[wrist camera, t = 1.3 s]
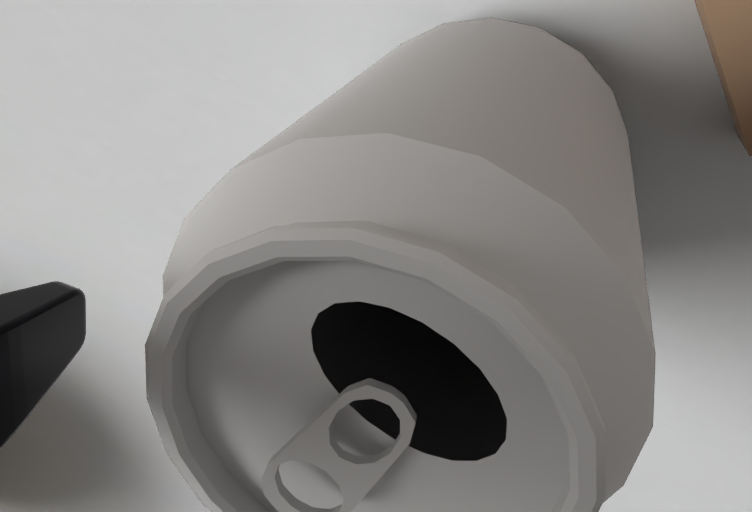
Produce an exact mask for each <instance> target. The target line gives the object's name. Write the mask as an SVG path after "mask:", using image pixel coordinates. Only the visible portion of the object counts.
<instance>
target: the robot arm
mask: <svg viewBox="0 0 752 512" xmlns="http://www.w3.org/2000/svg"><path fill="white" fill-rule="evenodd" d="M85 335H86V300H85V295H84V293H83V291H81V290H80V289H78V288H75V287H73V286H70V285H68V284H65V283H62V282H50V283H46V284H42V285H37V286H33V287H29V288H25V289H21V290H17V291H13V292H9V293H5V294H0V448H1V447H2V446H3V445H4V443H5V442H6V441H7V440H8V439H9V438H10V437H11V436H12V435H13V434H14V432H15V431H16V430H17V429H18V428H19V427H20V425H21V424H22V423H23V422H24V421H25V419H26V418H27V417H28V416H29V414H30V413H31V412H32V411H33V409H34V408H35V407H36V405H37V404H38V403H39V401H40V400H41V399H42V398H43V396H44V395H45V394H46V392H47V391H48V390H49V389H50V387H51V386H52V385H53V383H54V382H55V381H56V380H57V378H58V377H59V376H60V374H61V373H62V372H63V371H64V369H65V368H66V367H67V365H68V364H69V363H70V362H71V360H72V359H73V358H74V356H75V355H76V354H77V353H78V351H79V350H80V348H81V346H82V345H83V342H84V340H85Z"/></svg>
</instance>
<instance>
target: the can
mask: <svg viewBox="0 0 752 512" xmlns="http://www.w3.org/2000/svg"><path fill="white" fill-rule="evenodd" d="M145 356H146V389H147V400H148V403H149V406H150V409H151V411H152V414H153V417H154V419H155V422H156V425H157V428H158V430H159V433H160V436H161V438H162V441H163V444H164V446H165V449H166V452H167V454H168V456H169V457H170V459H171V460H172V462H173V463H174V464H175V466H176V467H177V469H178V470H179V472H180V473H181V474H182V476H183V477H184V479H185V480H186V482H187V483H188V484H189V486H190V487H191V489H192V490H193V492H194V493H195V494H196V496H197V497H198V499H199V500H200V501H201V503H202V504H203V505H204V506H205V507H207V508H208V509H209V510H210V511H211V512H598V511H599V509H600V507H601V505H602V503H603V502H605V501H606V500H607V499H608V498H609V497H610V496H612V495H613V494H614V493H615V492H616V491H617V490H619V489H620V488H621V487H622V486H623V485H624V483H625V481H626V479H627V477H628V475H629V473H630V471H631V469H632V467H633V465H634V463H635V461H636V459H637V457H638V455H639V453H640V451H641V449H642V447H643V445H644V443H645V441H646V439H647V437H648V435H649V433H650V431H651V429H652V427H653V410H654V382H655V347H654V339H653V331H652V323H651V315H650V307H649V299H648V291H647V283H646V275H645V267H644V259H643V251H642V243H641V235H640V227H639V219H638V211H637V203H636V195H635V187H634V179H633V171H632V163H631V155H630V147H629V139H628V133H627V131H626V128H625V125H624V122H623V119H622V116H621V114H620V111H619V108H618V105H617V102H616V99H615V97H614V94H613V91H612V89H611V88H610V87H609V86H608V85H607V83H606V82H605V81H604V80H603V79H602V77H601V76H600V75H599V74H598V72H597V71H596V70H595V69H594V68H593V66H592V65H591V64H590V63H589V61H588V60H587V59H586V58H585V57H584V55H583V54H582V53H580V52H579V51H577V50H576V49H574V48H572V47H571V46H569V45H567V44H566V43H564V42H562V41H561V40H559V39H557V38H556V37H554V36H552V35H551V34H549V33H547V32H546V31H544V30H542V29H541V28H538V27H533V26H529V25H524V24H519V23H515V22H510V21H505V20H501V19H496V18H484V19H475V20H467V21H459V22H450V23H444V24H441V25H439V26H437V27H435V28H433V29H431V30H429V31H427V32H425V33H423V34H421V35H419V36H416V37H414V38H412V39H410V40H408V41H406V42H404V43H402V44H401V45H399V46H398V47H397V48H395V49H394V50H393V51H391V52H390V53H389V54H387V55H386V56H385V57H383V58H382V59H380V60H379V61H378V62H376V63H375V64H374V65H372V66H371V67H370V68H368V69H367V70H365V71H364V72H363V73H361V74H360V75H359V76H357V77H356V78H355V79H353V80H352V81H351V82H349V83H348V84H346V85H345V86H344V87H342V88H341V89H340V90H338V91H337V92H336V93H334V94H333V95H332V96H330V97H329V98H327V99H326V100H325V101H323V102H322V103H321V104H319V105H318V106H317V107H315V108H314V109H312V110H311V111H310V112H308V113H307V114H306V115H304V116H303V117H302V118H300V119H299V120H298V121H296V122H295V123H293V124H292V125H291V126H289V127H288V128H287V129H285V130H284V131H283V132H281V133H280V134H279V135H277V136H276V137H274V138H273V139H272V140H270V141H269V142H268V143H266V144H265V145H264V146H262V147H261V148H259V149H258V150H257V151H255V152H254V153H253V154H251V155H250V156H249V157H247V158H246V159H245V160H243V161H242V162H240V163H239V164H238V165H236V166H235V167H234V168H232V169H231V170H230V171H229V172H228V173H227V174H226V175H225V176H224V177H223V178H222V179H221V180H220V181H219V182H218V183H217V185H216V186H215V187H214V188H213V189H212V190H211V191H210V192H209V193H208V194H207V195H206V196H205V197H204V198H203V199H202V200H201V201H200V202H199V203H198V204H197V205H196V207H195V208H194V209H193V210H192V211H191V212H190V213H189V214H188V215H187V216H186V217H185V218H184V221H183V223H182V226H181V229H180V231H179V234H178V237H177V239H176V242H175V245H174V247H173V250H172V253H171V255H170V258H169V261H168V263H167V266H166V269H165V271H164V274H163V300H162V302H161V305H160V308H159V310H158V313H157V315H156V318H155V321H154V323H153V326H152V328H151V331H150V334H149V336H148V339H147V341H146V344H145Z"/></svg>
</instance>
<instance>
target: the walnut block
mask: <svg viewBox="0 0 752 512" xmlns="http://www.w3.org/2000/svg"><path fill="white" fill-rule="evenodd" d="M695 3H696V6H697V9H698V12H699V15H700V18H701V22H702V25H703V28H704V31H705V34H706V37H707V40H708V43H709V47H710V50H711V53H712V56H713V59H714V62H715V65H716V68H717V72H718V75H719V78H720V81H721V84H722V87H723V90H724V93H725V97H726V100H727V103H728V106H729V109H730V112H731V115H732V118H733V122H734V125H735V128H736V131H737V134H738V137H739V139H740V140H741V142H742V144H743V145H744V147H745V149H746V150H747V152H748V154H749V155H750V156H751V155H752V0H695Z"/></svg>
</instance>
